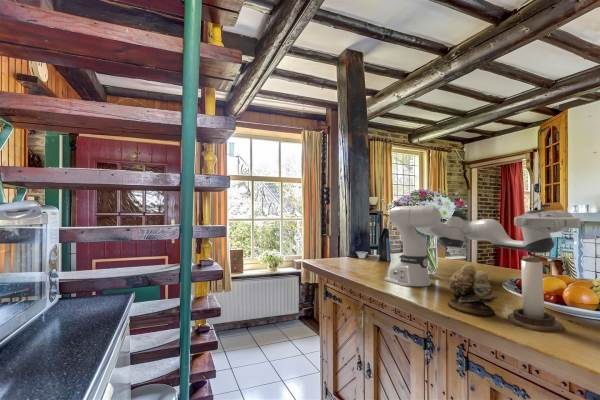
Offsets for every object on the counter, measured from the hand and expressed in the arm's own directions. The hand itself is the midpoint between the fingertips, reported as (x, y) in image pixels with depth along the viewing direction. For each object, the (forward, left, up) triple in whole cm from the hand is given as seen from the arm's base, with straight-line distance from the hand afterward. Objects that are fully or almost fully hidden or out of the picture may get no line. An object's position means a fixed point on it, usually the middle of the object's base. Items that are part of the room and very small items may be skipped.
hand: (538, 222), depth 113 cm
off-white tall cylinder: (+4, -21, -30) cm, 37 cm away
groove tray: (+4, -21, -31) cm, 38 cm away
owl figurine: (-15, -23, -32) cm, 42 cm away
